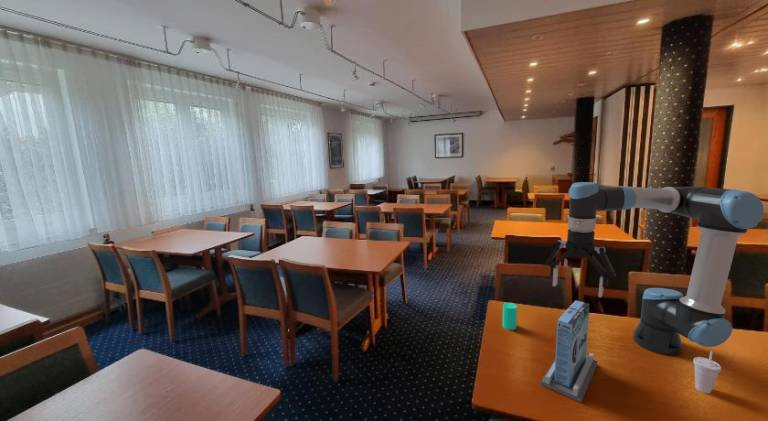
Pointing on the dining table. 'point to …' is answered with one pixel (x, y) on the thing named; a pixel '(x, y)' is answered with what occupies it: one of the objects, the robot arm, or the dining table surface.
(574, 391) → the door track
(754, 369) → the dining table surface
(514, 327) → the candle
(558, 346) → the gum box
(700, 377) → the smoothie
